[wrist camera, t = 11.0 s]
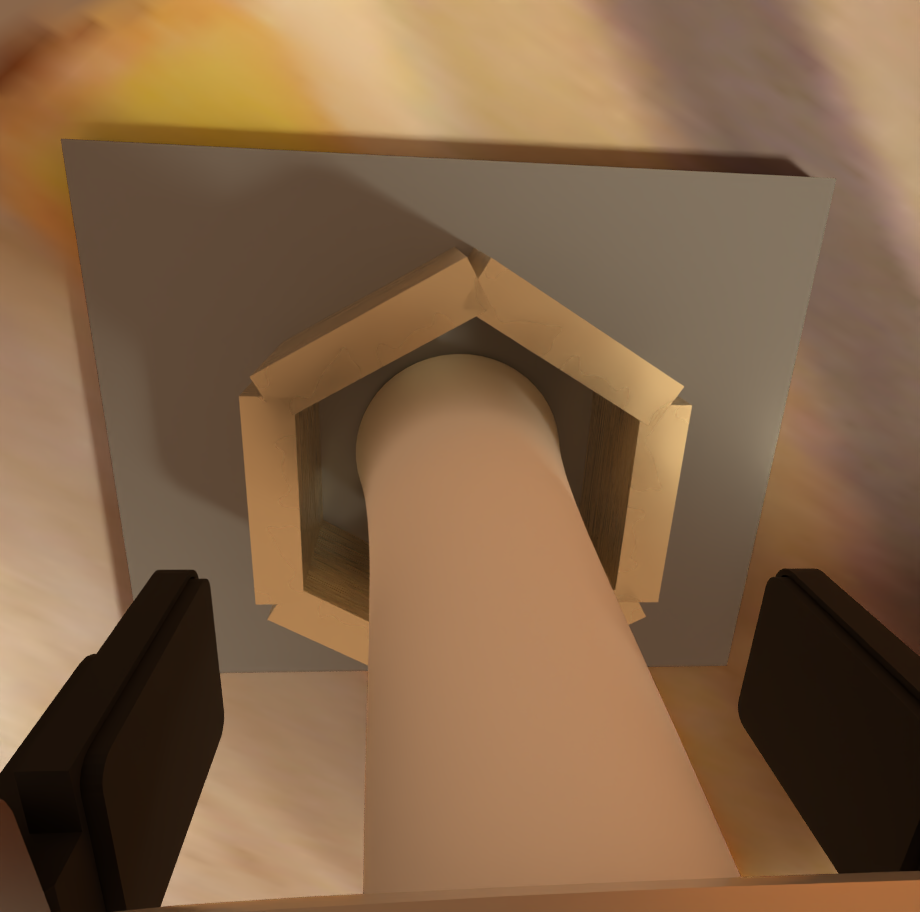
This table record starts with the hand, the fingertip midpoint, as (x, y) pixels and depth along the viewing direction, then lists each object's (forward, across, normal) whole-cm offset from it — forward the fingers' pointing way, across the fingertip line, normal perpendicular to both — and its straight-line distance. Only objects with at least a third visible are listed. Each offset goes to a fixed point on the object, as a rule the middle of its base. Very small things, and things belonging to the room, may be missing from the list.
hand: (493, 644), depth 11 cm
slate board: (+10, 0, 0) cm, 10 cm away
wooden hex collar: (+9, 0, 0) cm, 9 cm away
